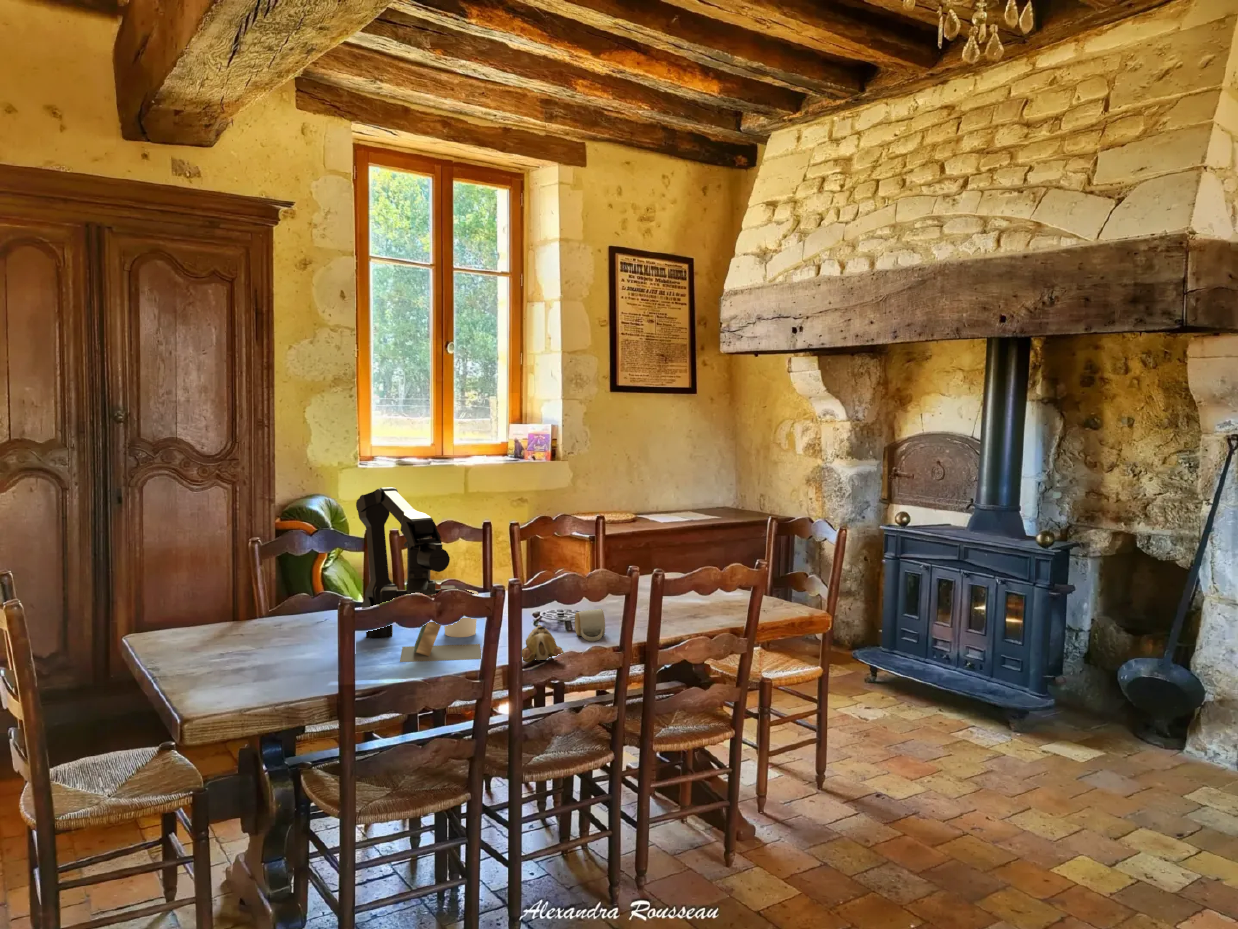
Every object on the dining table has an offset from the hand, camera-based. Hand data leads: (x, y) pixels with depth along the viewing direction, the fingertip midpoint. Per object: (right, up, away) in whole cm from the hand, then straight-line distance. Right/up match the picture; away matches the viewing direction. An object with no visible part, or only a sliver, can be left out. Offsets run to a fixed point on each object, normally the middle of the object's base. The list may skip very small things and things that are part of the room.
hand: (418, 627), depth 227 cm
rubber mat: (+5, -8, +2) cm, 9 cm away
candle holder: (+7, -7, +21) cm, 23 cm away
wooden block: (+1, -6, +1) cm, 6 cm away
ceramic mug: (+43, -7, +23) cm, 49 cm away
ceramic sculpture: (+31, -9, 0) cm, 32 cm away
